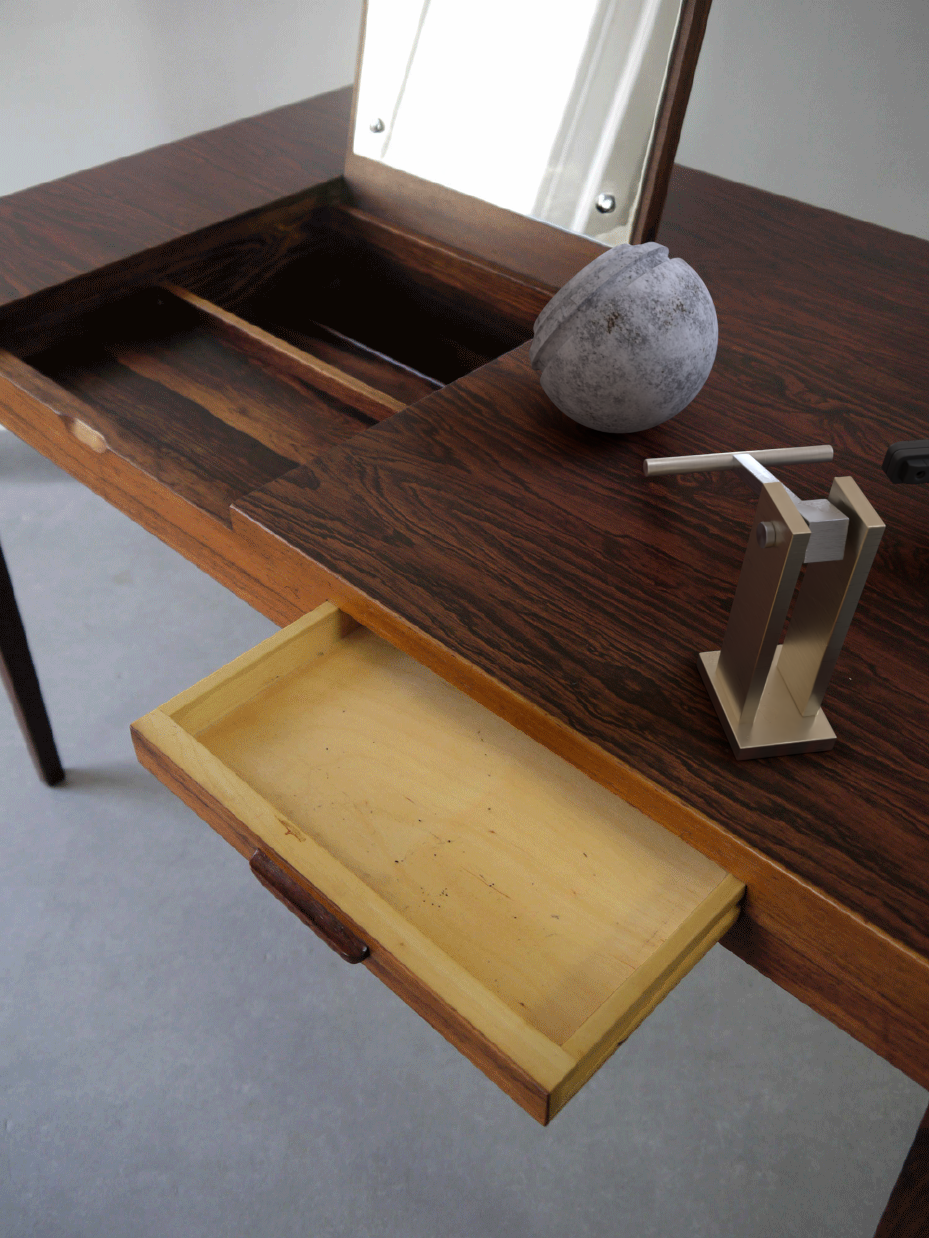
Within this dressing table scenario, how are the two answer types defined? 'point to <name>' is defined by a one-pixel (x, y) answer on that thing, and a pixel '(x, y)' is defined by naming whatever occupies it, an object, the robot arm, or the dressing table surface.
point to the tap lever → (749, 467)
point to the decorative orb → (626, 340)
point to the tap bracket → (802, 666)
